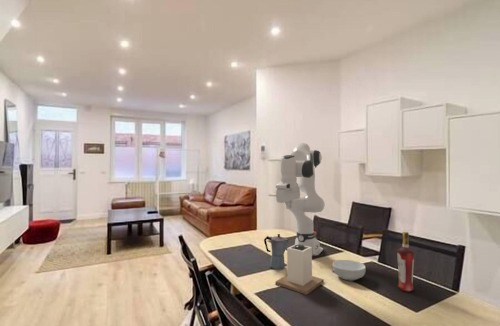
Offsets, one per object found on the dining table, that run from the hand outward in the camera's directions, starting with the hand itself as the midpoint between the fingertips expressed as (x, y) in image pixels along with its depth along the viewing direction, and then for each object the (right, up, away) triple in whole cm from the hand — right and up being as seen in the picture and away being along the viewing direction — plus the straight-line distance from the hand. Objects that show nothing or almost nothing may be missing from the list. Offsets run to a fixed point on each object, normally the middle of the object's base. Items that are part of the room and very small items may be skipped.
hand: (289, 208), depth 162 cm
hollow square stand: (+4, -37, -14) cm, 39 cm away
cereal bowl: (+31, -37, -7) cm, 49 cm away
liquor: (+54, -37, -22) cm, 69 cm away
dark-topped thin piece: (+4, -34, -14) cm, 37 cm away
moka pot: (-6, -37, +9) cm, 38 cm away
